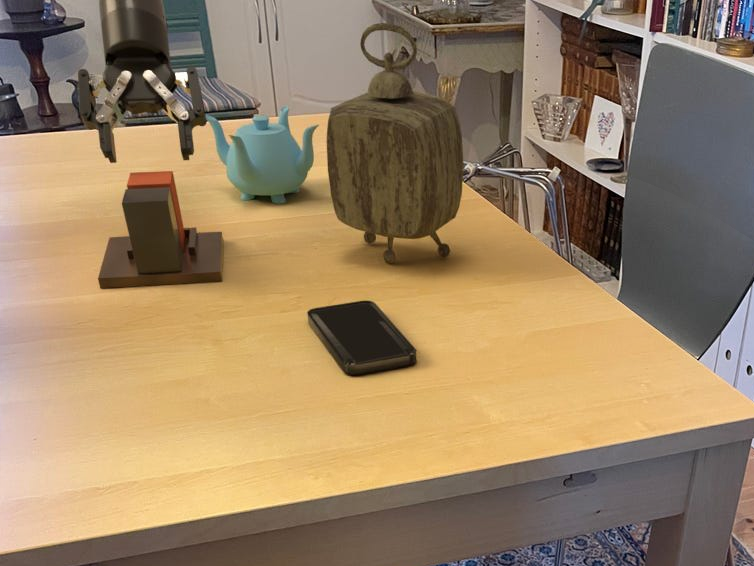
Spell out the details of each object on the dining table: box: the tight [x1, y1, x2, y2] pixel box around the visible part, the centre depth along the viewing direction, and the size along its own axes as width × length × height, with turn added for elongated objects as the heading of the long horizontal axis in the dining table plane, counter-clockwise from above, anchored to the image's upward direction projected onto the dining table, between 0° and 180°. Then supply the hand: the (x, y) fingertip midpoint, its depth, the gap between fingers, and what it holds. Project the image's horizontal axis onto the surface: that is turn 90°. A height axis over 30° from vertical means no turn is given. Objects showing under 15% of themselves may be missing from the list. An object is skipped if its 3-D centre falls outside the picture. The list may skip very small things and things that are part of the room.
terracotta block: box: [126, 170, 185, 252], centre depth 114 cm, size 5×5×8 cm
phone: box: [306, 299, 418, 376], centre depth 99 cm, size 8×1×15 cm
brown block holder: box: [97, 187, 224, 289], centre depth 113 cm, size 14×14×9 cm
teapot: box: [205, 105, 320, 204], centre depth 133 cm, size 13×13×10 cm
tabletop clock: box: [326, 22, 465, 265], centre depth 110 cm, size 14×9×25 cm, turn 66°
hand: (149, 158), depth 112 cm, fingers open, 8 cm apart
